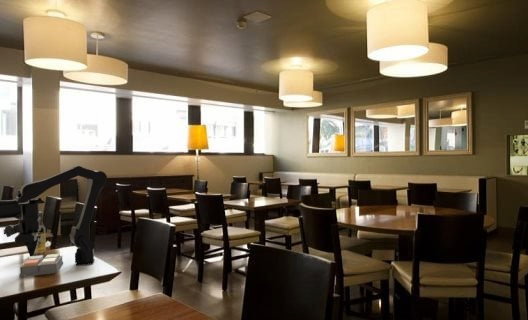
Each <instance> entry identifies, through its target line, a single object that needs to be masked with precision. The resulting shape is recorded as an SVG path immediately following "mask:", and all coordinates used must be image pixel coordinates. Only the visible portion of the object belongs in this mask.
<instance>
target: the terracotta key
mask: <svg viewBox="0 0 528 320" xmlns="http://www.w3.org/2000/svg"><path fill="white" fill-rule="evenodd" d="M39 263H40V259H36V260H28V259H26V260H25V261H24V262H23V264H22V265H23V267H25V266H35V265H38V264H39Z"/></svg>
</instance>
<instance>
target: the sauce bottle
mask: <svg viewBox="0 0 528 320" xmlns="http://www.w3.org/2000/svg"><path fill="white" fill-rule="evenodd" d="M43 213H44V212H43V211H39V217H41V220H39V224H40V226H42V225H43V226H44V227H45V225H44V223H43ZM37 234H38V236H42V237H41V239H40V242H39V244H38V246H37V249H36V251H35V253H34V255H33V256H40V255H43V257H44V256H45V255H46V248H47V246H46V241H47V240H46V232H45V233H42V232H38V233H37ZM30 257H31V256H30V255H29V258H30Z"/></svg>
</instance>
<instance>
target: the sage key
mask: <svg viewBox="0 0 528 320" xmlns="http://www.w3.org/2000/svg"><path fill="white" fill-rule="evenodd" d="M60 256H61V255H60V253H54V254H53V253H52V254H47V255H46V256H45V259H47V258H57V259H59V258H60Z"/></svg>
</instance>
